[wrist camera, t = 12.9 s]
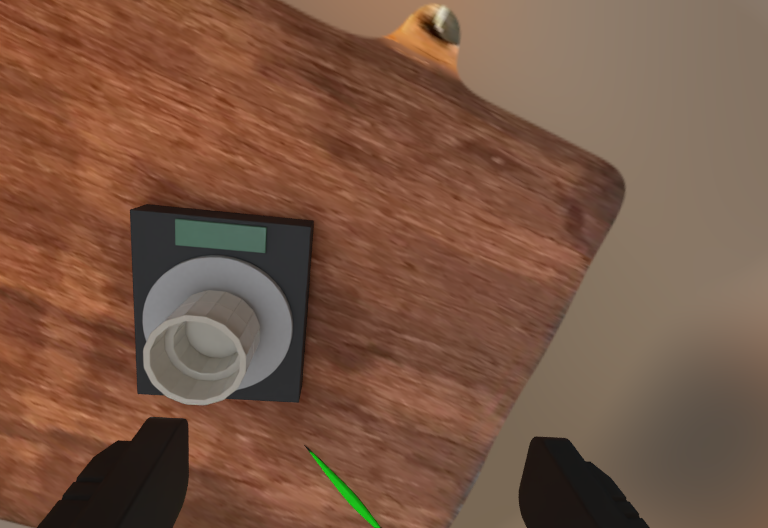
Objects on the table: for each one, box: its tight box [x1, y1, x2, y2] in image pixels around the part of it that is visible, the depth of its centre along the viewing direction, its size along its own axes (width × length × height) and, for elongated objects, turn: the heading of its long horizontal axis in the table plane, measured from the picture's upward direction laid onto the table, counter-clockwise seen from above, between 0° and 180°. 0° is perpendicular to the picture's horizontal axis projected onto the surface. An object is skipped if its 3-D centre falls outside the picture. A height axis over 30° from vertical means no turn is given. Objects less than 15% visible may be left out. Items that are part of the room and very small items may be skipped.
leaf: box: [305, 446, 381, 528], centre depth 40 cm, size 1×14×1 cm, turn 34°
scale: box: [130, 204, 314, 402], centre depth 32 cm, size 14×12×3 cm
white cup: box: [143, 290, 260, 405], centre depth 29 cm, size 6×6×5 cm
